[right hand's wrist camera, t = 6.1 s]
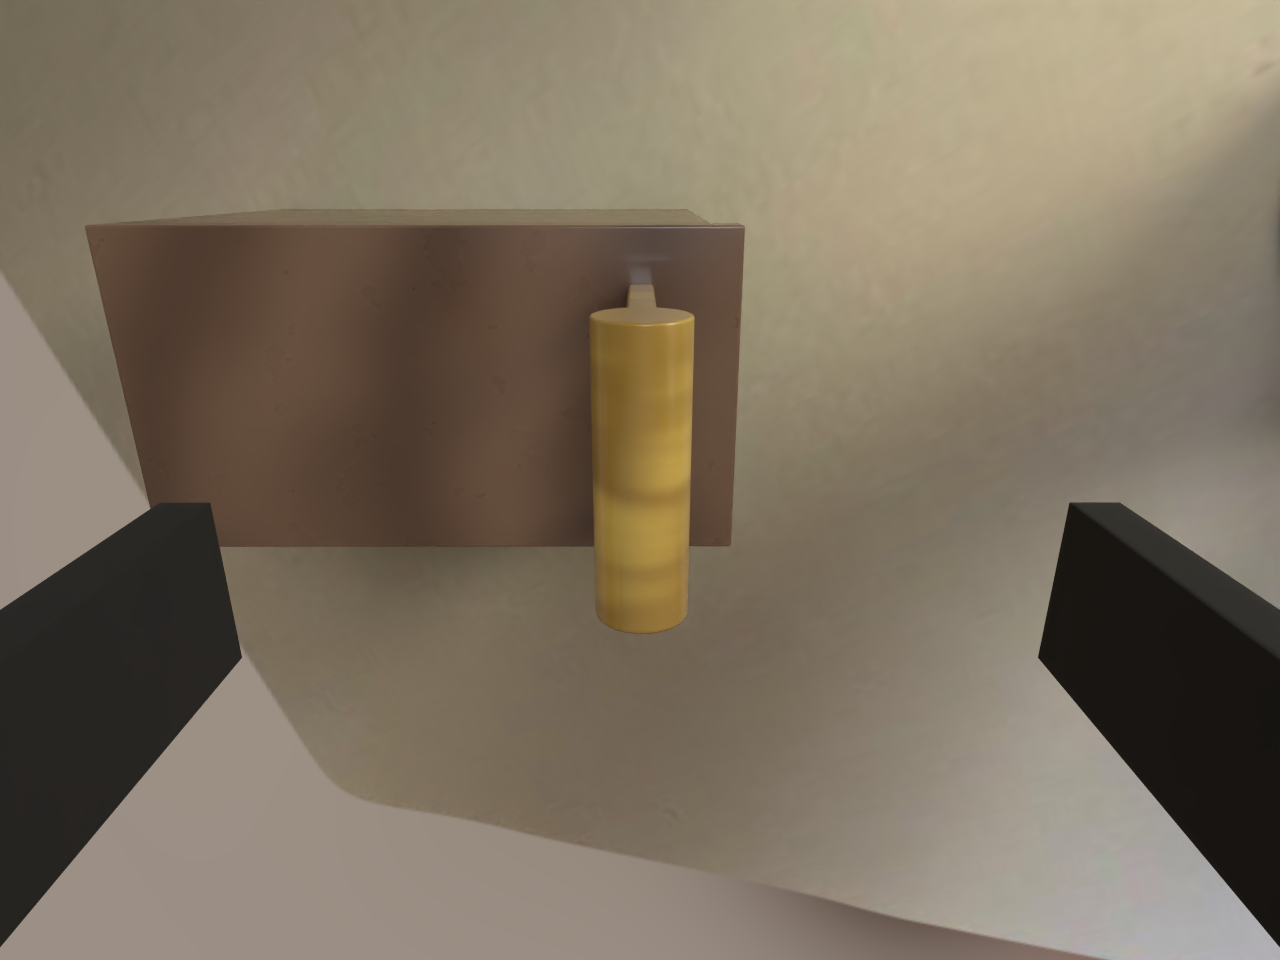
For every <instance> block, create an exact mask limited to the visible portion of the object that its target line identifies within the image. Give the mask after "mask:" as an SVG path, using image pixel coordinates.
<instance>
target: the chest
mask: <svg viewBox="0 0 1280 960" xmlns="http://www.w3.org/2000/svg"><path fill="white" fill-rule="evenodd" d="M122 223H709V222H708V221H706V220H704V219H702V218H701V217H699V216H697V215H696V214H694V213H692V212H691V211H689V210H270V211H258V212H245V213H233V214H221V215H208V216H196V217H184V218H171V219H159V220H147V221H134V222H122Z"/></svg>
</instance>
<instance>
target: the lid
mask: <svg viewBox="0 0 1280 960" xmlns="http://www.w3.org/2000/svg"><path fill="white" fill-rule="evenodd" d="M85 229H86V234H87V238H88V242H89V246H90V251H91V255H92V259H93V264H94V268H95V272H96V277H97V281H98V285H99V289H100V294H101V298H102V302H103V307H104V311H105V315H106V319H107V324H108V328H109V332H110V337H111V341H112V345H113V349H114V354H115V358H116V362H117V367H118V371H119V375H120V380H121V384H122V388H123V392H124V397H125V401H126V405H127V410H128V414H129V418H130V422H131V427H132V431H133V435H134V440H135V444H136V448H137V453H138V457H139V461H140V465H141V470H142V474H143V478H144V483H145V487H146V491H147V495H148V500H149V504H150V508H153V507H154V506H156V505H157V504H159V503H211V508H212V513H213V518H214V523H215V528H216V533H217V538H218V543H219V547H291V546H594V559H595V604H596V614H597V616H598V618H599V619H600V620H601V622H603V623H604V624H605V625H607V626H608V627H611V628H613V629H615V630H618V631H622V632H627V633H635V634H649V633H656V632H661V631H665V630H668V629H671V628H673V627H675V626H676V625H678V624H679V623H681V622H682V621H683V620H684V618H685V616H686V615H687V611H688V571H689V546H730V545H731V530H732V507H733V484H734V462H735V439H736V416H737V393H738V371H739V348H740V325H741V302H742V280H743V257H744V234H745V227H744V226H743V225H741V224H738V223H109V224H97V225H87V226H85Z"/></svg>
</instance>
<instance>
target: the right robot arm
mask: <svg viewBox="0 0 1280 960" xmlns="http://www.w3.org/2000/svg"><path fill="white" fill-rule="evenodd" d="M241 658H242V655H241V650H240V646H239V641H238V636H237V631H236V626H235V621H234V616H233V611H232V606H231V601H230V596H229V592H228V587H227V582H226V577H225V572H224V567H223V562H222V557H221V552H220V547H219V543H218V538H217V533H216V528H215V523H214V518H213V513H212V508H211V503H159V504H157V505H156V506H154V507H153V508H151V509H150V510H149V511H147V512H145V513H144V514H142V515H141V516H140V517H138V518H137V519H135V520H134V521H132V522H131V523H129V524H128V525H126V526H125V527H123V528H122V529H120V530H119V531H117V532H116V533H114V534H113V535H111V536H110V537H108V538H107V539H105V540H104V541H102V542H101V543H99V544H98V545H96V546H95V547H93V548H92V549H90V550H89V551H87V552H86V553H84V554H83V555H81V556H80V557H78V558H77V559H76V560H74V561H72V562H71V563H69V564H68V565H67V566H65V567H64V568H62V569H61V570H59V571H58V572H56V573H55V574H53V575H52V576H50V577H49V578H47V579H46V580H44V581H43V582H41V583H40V584H38V585H37V586H35V587H34V588H32V589H31V590H29V591H28V592H26V593H25V594H23V595H22V596H20V597H19V598H17V599H16V600H14V601H13V602H11V603H10V604H8V605H7V606H5V607H4V608H2V609H1V610H0V947H1V946H2V944H3V943H4V942H5V941H6V940H7V938H8V937H9V936H10V935H11V934H12V932H13V931H14V930H15V929H16V928H17V926H18V925H19V924H20V923H21V922H22V920H23V919H24V918H25V917H26V916H27V914H28V913H29V912H30V911H31V910H32V908H33V907H34V906H35V905H36V904H37V902H38V901H39V900H40V899H41V898H42V896H43V895H44V894H45V893H46V892H47V890H48V889H49V888H50V887H51V886H52V885H53V883H54V882H55V881H56V880H57V878H58V877H59V876H60V875H61V874H62V872H63V871H64V870H65V869H66V868H67V866H68V865H69V864H70V863H71V862H72V861H73V859H74V858H75V857H76V856H77V855H78V853H79V852H80V851H81V850H82V849H83V847H84V846H85V845H86V844H87V843H88V841H89V840H90V839H91V838H92V837H93V835H94V834H95V833H96V832H97V831H98V829H99V828H100V827H101V826H102V825H103V823H104V822H105V821H106V820H107V819H108V817H109V816H110V815H111V814H112V813H113V811H114V810H115V809H116V808H117V807H118V805H119V804H120V803H121V802H122V801H123V799H124V798H125V797H126V796H127V795H128V793H129V792H130V791H131V790H132V789H133V787H134V786H135V785H136V784H137V783H138V781H139V780H140V779H141V778H142V777H143V775H144V774H145V773H146V772H147V771H148V769H149V768H150V767H151V766H152V765H153V763H154V762H155V761H156V760H157V759H158V757H159V756H160V755H161V754H162V753H163V751H164V750H165V749H166V748H167V747H168V746H169V744H170V743H171V742H172V741H173V740H174V738H175V737H176V736H177V735H178V734H179V732H180V731H181V730H182V729H183V728H184V726H185V725H186V724H187V723H188V722H189V720H190V719H191V718H192V717H193V715H194V714H195V713H196V712H197V711H198V710H199V708H200V707H201V706H202V705H203V703H204V702H205V701H206V700H207V699H208V698H209V696H210V695H211V694H212V693H213V692H214V690H215V689H216V688H217V687H218V686H219V684H220V683H221V682H222V681H223V680H224V678H225V677H226V676H227V675H228V674H229V672H230V671H231V670H232V669H233V668H234V666H235V665H236V664H237V663H238V662H239V660H240V659H241ZM1038 658H1039V659H1040V660H1041V662H1042V663H1043V664H1044V665H1045V666H1046V668H1047V669H1048V670H1049V671H1050V672H1051V674H1052V675H1053V676H1054V677H1055V678H1056V680H1057V681H1058V682H1059V683H1060V684H1061V686H1062V687H1063V688H1064V689H1065V690H1066V692H1067V693H1068V694H1069V695H1070V696H1071V698H1072V699H1073V700H1074V701H1075V702H1076V704H1077V705H1078V706H1079V707H1080V708H1081V710H1082V711H1083V712H1084V713H1085V714H1086V716H1087V717H1088V718H1089V719H1090V720H1091V722H1092V723H1093V724H1094V725H1095V726H1096V728H1097V729H1098V730H1099V731H1100V732H1101V734H1102V735H1103V736H1104V737H1105V738H1106V740H1107V741H1108V742H1109V743H1110V744H1111V746H1112V747H1113V748H1114V749H1115V750H1116V752H1117V753H1118V754H1119V755H1120V756H1121V758H1122V759H1123V760H1124V761H1125V762H1126V763H1127V765H1128V766H1129V767H1130V768H1131V769H1132V771H1133V772H1134V773H1135V774H1136V775H1137V777H1138V778H1139V779H1140V780H1141V781H1142V783H1143V784H1144V785H1145V786H1146V787H1147V789H1148V790H1149V791H1150V792H1151V793H1152V795H1153V796H1154V797H1155V798H1156V799H1157V801H1158V802H1159V803H1160V804H1161V805H1162V807H1163V808H1164V809H1165V810H1166V811H1167V813H1168V814H1169V815H1170V816H1171V817H1172V819H1173V820H1174V821H1175V822H1176V823H1177V825H1178V826H1179V827H1180V828H1181V829H1182V831H1183V832H1184V833H1185V834H1186V835H1187V837H1188V838H1189V839H1190V840H1191V841H1192V843H1193V844H1194V845H1195V846H1196V847H1197V849H1198V850H1199V851H1200V852H1201V853H1202V855H1203V856H1204V857H1205V858H1206V859H1207V861H1208V862H1209V863H1210V864H1211V865H1212V867H1213V868H1214V869H1215V870H1216V871H1217V873H1218V874H1219V875H1220V876H1221V877H1222V879H1223V880H1224V881H1225V882H1226V883H1227V885H1228V886H1229V887H1230V888H1231V889H1232V890H1233V892H1234V893H1235V894H1236V895H1237V896H1238V898H1239V899H1240V900H1241V901H1242V902H1243V904H1244V905H1245V906H1246V907H1247V908H1248V910H1249V911H1250V912H1251V913H1252V914H1253V916H1254V917H1255V918H1256V919H1257V920H1258V922H1259V923H1260V924H1261V925H1262V926H1263V928H1264V929H1265V930H1266V931H1267V932H1268V934H1269V935H1270V936H1271V937H1272V938H1273V940H1274V941H1275V942H1276V943H1277V944H1278V946H1279V947H1280V610H1279V609H1278V608H1276V607H1275V606H1273V605H1272V604H1270V603H1269V602H1267V601H1266V600H1264V599H1263V598H1261V597H1260V596H1258V595H1257V594H1255V593H1254V592H1252V591H1251V590H1249V589H1248V588H1246V587H1245V586H1243V585H1242V584H1240V583H1239V582H1237V581H1236V580H1234V579H1233V578H1231V577H1230V576H1228V575H1227V574H1225V573H1224V572H1222V571H1221V570H1219V569H1218V568H1216V567H1215V566H1214V565H1212V564H1211V563H1209V562H1208V561H1206V560H1205V559H1203V558H1202V557H1200V556H1199V555H1197V554H1196V553H1194V552H1193V551H1191V550H1190V549H1188V548H1187V547H1185V546H1184V545H1182V544H1181V543H1179V542H1178V541H1176V540H1175V539H1173V538H1172V537H1170V536H1169V535H1167V534H1166V533H1164V532H1163V531H1161V530H1160V529H1158V528H1157V527H1155V526H1154V525H1152V524H1151V523H1149V522H1148V521H1146V520H1145V519H1143V518H1142V517H1140V516H1139V515H1138V514H1136V513H1135V512H1133V511H1132V510H1130V509H1129V508H1127V507H1126V506H1124V505H1123V504H1121V503H1069V508H1068V513H1067V518H1066V523H1065V528H1064V533H1063V538H1062V543H1061V547H1060V552H1059V557H1058V562H1057V567H1056V572H1055V577H1054V582H1053V587H1052V592H1051V596H1050V601H1049V606H1048V611H1047V616H1046V621H1045V626H1044V631H1043V636H1042V641H1041V646H1040V650H1039V655H1038Z"/></svg>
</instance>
